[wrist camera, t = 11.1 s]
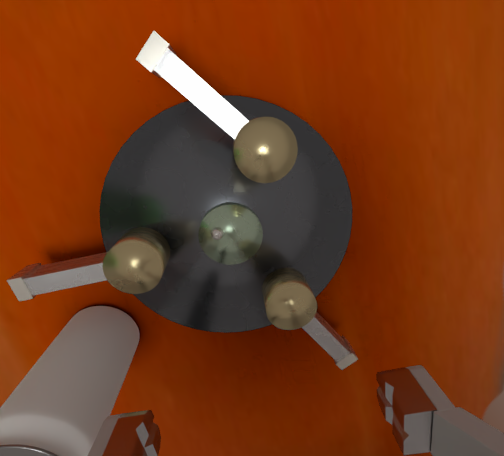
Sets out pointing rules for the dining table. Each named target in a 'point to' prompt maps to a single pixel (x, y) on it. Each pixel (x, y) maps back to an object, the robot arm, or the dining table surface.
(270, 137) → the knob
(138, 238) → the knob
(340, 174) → the levelling plate
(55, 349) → the can
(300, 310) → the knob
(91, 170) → the dining table surface
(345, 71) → the dining table surface
